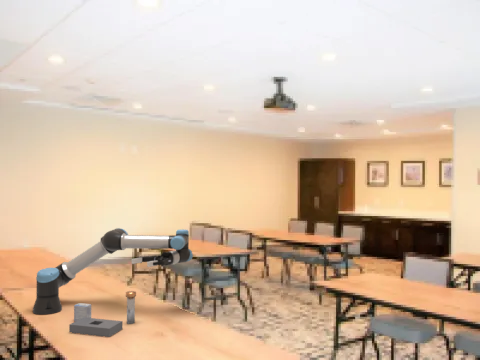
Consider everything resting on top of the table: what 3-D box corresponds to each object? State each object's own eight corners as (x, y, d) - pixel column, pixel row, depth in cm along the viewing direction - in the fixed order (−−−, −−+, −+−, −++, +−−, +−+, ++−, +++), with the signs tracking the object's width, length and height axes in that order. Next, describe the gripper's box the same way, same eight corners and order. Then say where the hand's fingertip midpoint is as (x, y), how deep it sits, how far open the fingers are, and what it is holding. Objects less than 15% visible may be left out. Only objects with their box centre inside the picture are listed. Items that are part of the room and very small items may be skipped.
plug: (123, 324, 229) (124, 293, 229) (128, 321, 234) (129, 290, 234) (132, 324, 228) (133, 293, 228) (137, 321, 233) (137, 291, 233)
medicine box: (91, 320, 235) (91, 304, 235) (86, 322, 230) (86, 306, 231) (78, 319, 237) (79, 302, 237) (73, 321, 233) (73, 305, 233)
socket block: (69, 332, 215) (69, 324, 215) (84, 325, 227) (84, 317, 227) (109, 337, 209) (109, 328, 209) (122, 329, 221) (122, 321, 221)
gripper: (184, 267, 247) (154, 273, 231) (155, 262, 263) (125, 266, 247) (184, 253, 247) (154, 258, 231) (155, 249, 263) (126, 253, 247)
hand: (139, 262), depth 239 cm, fingers open, 13 cm apart
